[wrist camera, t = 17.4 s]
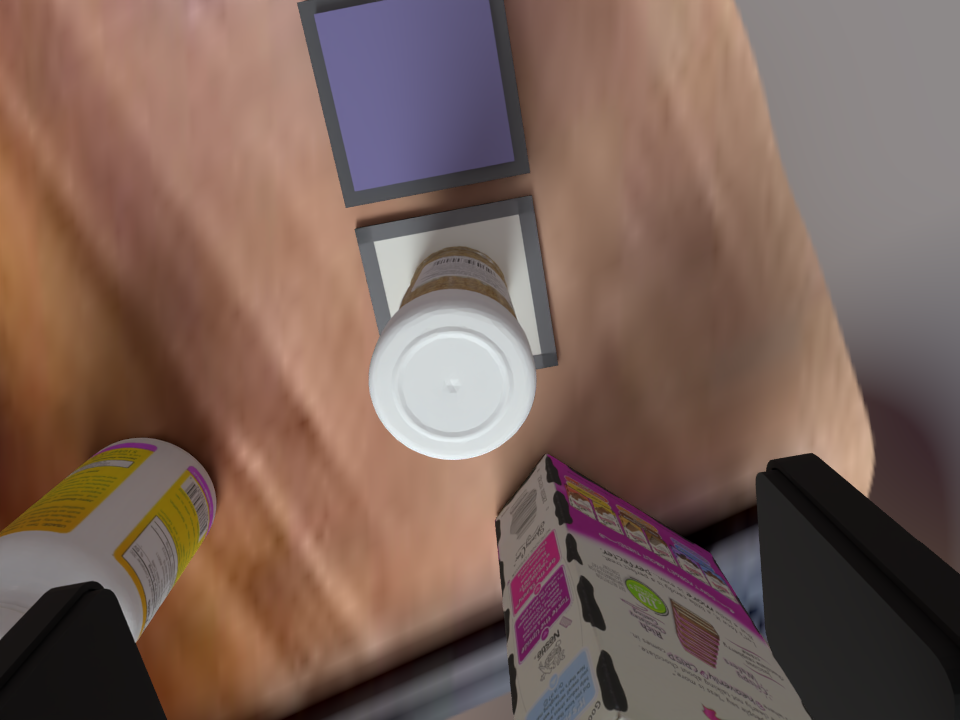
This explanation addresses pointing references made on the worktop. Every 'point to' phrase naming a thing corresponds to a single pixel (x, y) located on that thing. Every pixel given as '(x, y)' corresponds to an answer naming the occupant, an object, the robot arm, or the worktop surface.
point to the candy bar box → (623, 615)
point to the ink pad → (415, 94)
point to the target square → (484, 228)
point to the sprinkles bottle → (453, 360)
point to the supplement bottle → (111, 530)
